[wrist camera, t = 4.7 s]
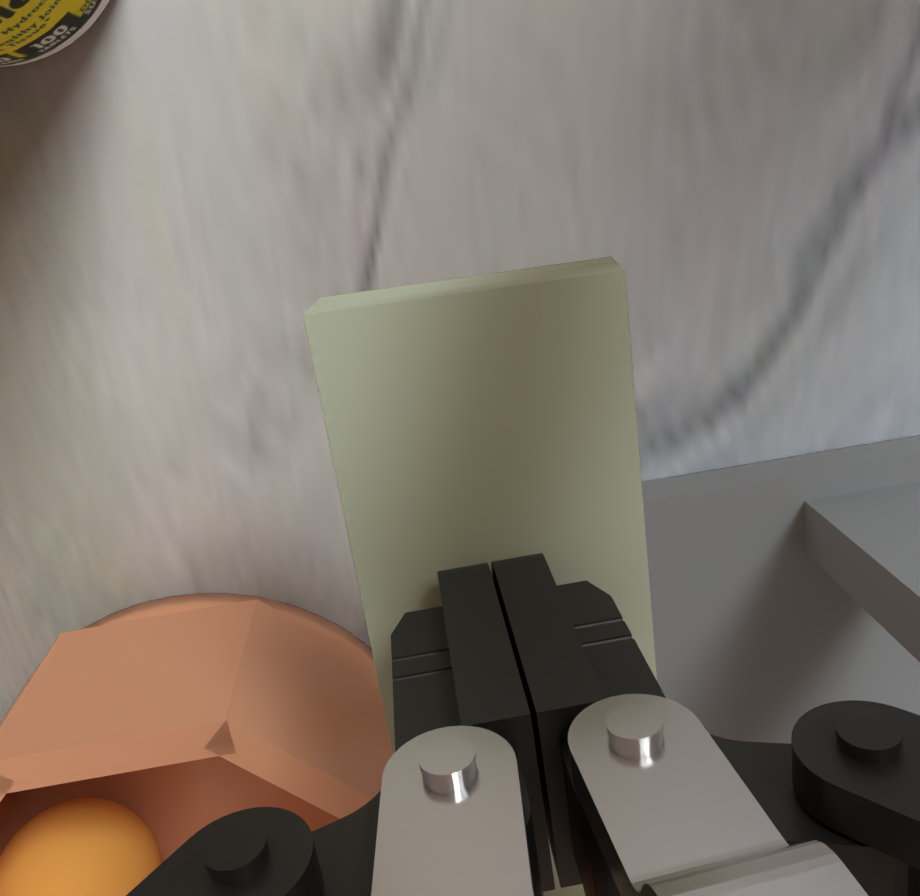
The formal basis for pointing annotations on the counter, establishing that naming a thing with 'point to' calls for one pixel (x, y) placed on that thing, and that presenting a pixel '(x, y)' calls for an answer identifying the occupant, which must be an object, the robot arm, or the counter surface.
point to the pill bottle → (42, 27)
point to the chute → (485, 439)
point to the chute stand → (787, 586)
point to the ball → (79, 851)
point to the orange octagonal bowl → (197, 717)
